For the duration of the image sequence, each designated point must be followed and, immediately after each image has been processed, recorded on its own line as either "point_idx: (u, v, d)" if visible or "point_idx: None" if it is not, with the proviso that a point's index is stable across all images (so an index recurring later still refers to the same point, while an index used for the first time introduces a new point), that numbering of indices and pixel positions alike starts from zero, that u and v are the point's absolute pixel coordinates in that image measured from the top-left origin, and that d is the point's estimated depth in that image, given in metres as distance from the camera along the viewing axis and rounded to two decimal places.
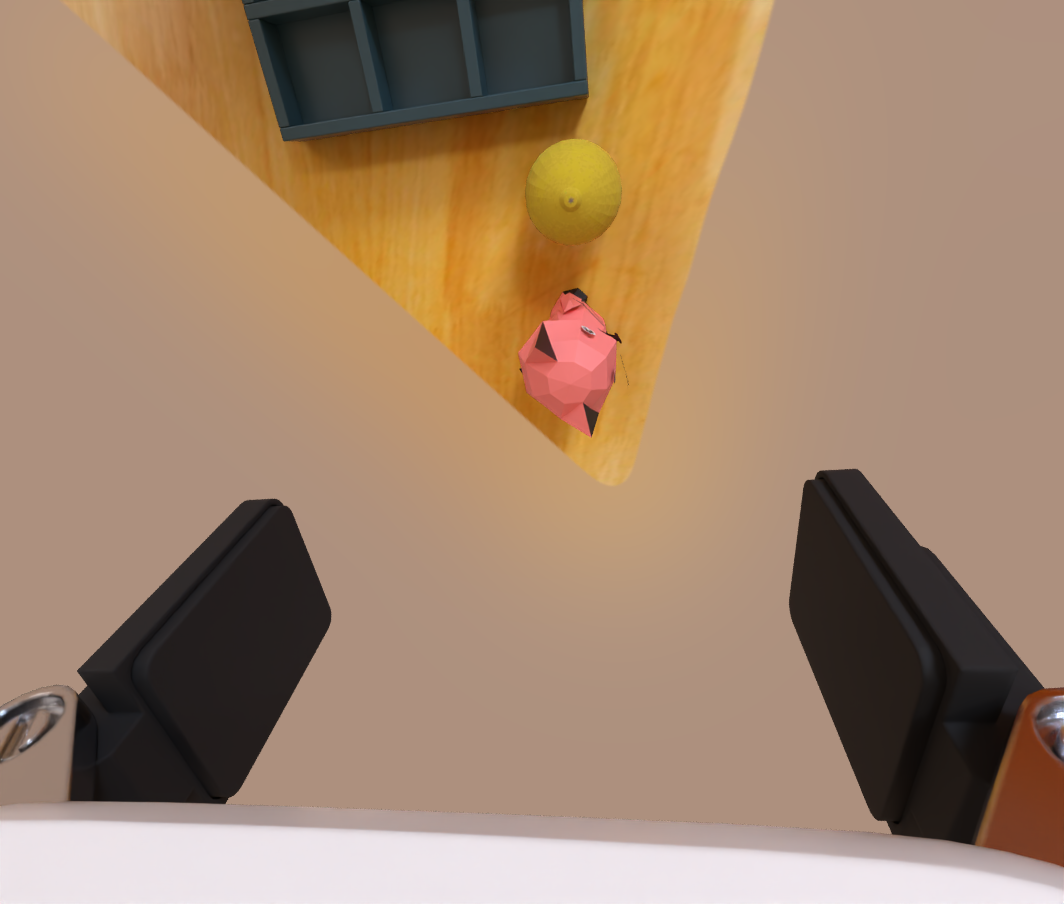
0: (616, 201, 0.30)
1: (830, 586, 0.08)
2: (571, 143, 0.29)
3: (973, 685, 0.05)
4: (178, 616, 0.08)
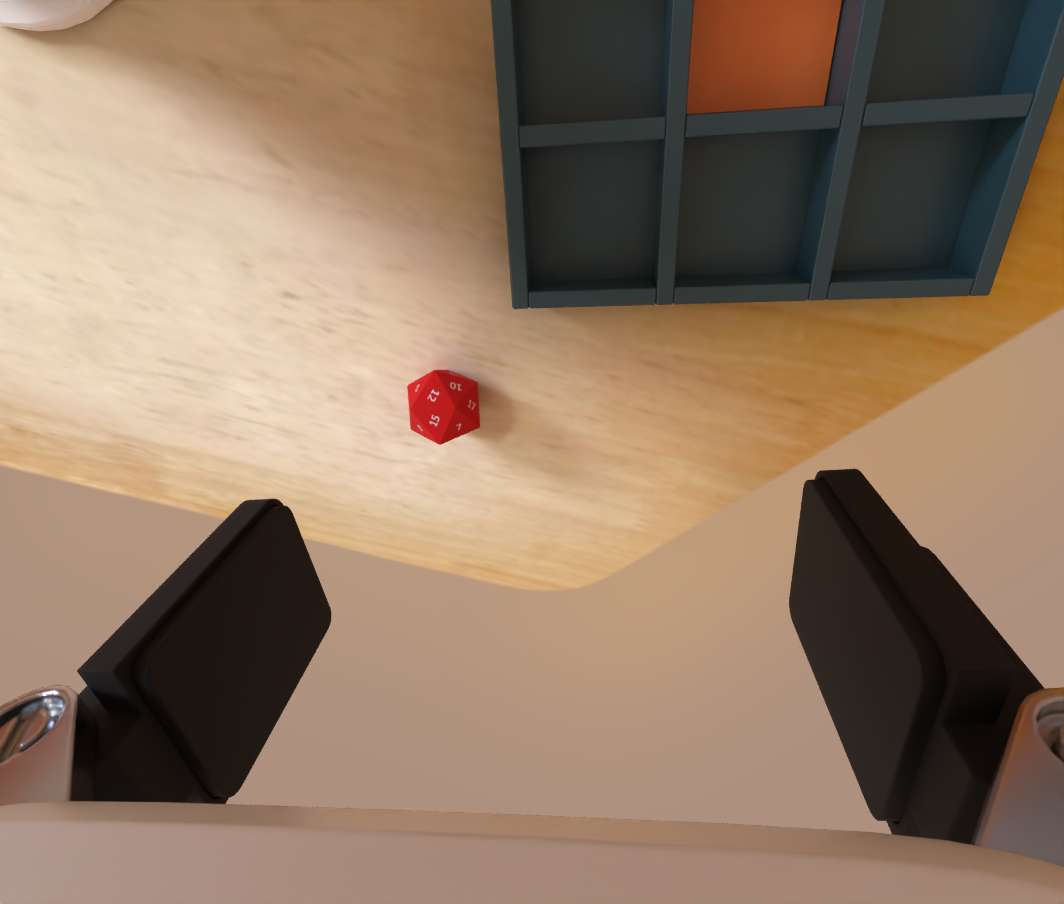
0: None
1: (830, 586, 0.08)
2: None
3: (973, 685, 0.05)
4: (178, 616, 0.08)
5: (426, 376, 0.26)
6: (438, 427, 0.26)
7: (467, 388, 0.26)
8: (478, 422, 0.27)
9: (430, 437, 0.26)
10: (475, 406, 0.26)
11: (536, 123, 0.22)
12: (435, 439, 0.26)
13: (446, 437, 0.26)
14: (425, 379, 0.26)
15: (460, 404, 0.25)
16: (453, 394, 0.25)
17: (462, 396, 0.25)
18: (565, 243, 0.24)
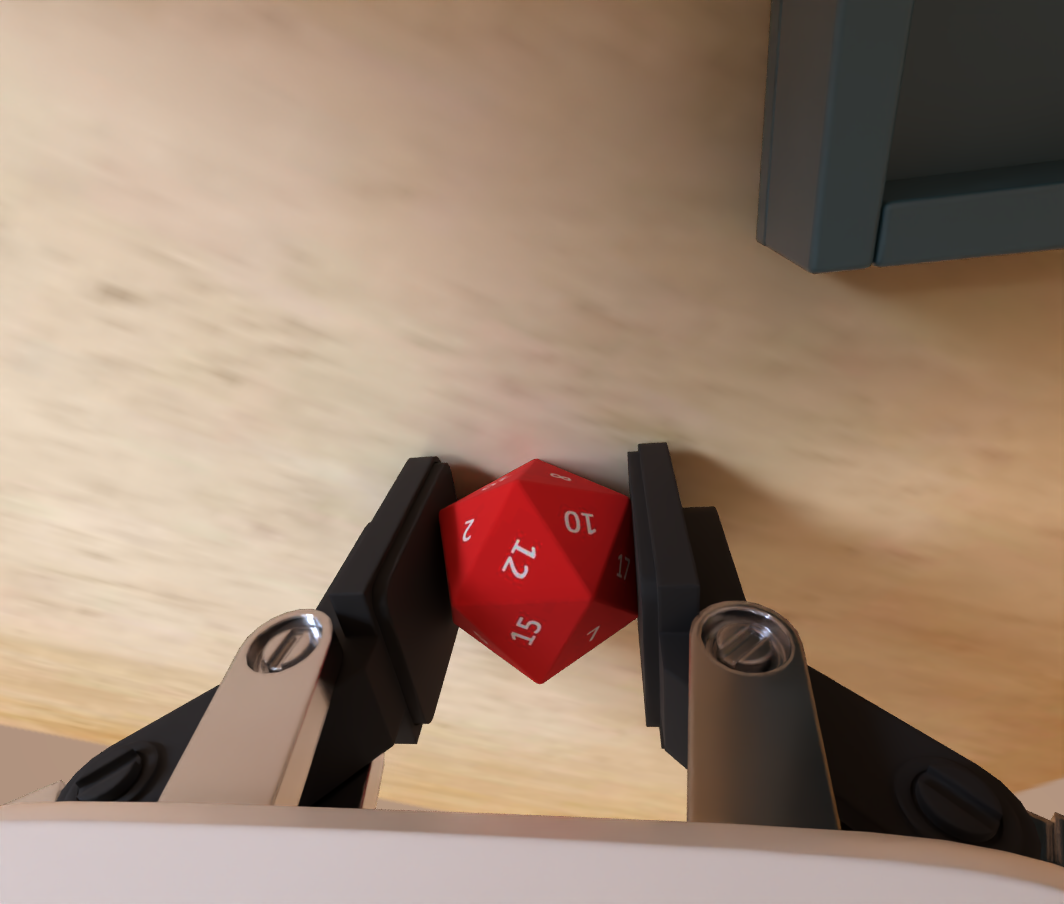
0: None
1: None
2: None
3: (671, 600, 0.07)
4: (396, 552, 0.08)
5: (492, 496, 0.09)
6: (539, 646, 0.09)
7: (610, 522, 0.09)
8: (637, 605, 0.10)
9: (512, 664, 0.09)
10: (630, 565, 0.09)
11: None
12: (527, 673, 0.09)
13: (558, 665, 0.09)
14: (490, 505, 0.09)
15: (602, 582, 0.08)
16: (578, 551, 0.08)
17: (603, 551, 0.09)
18: (965, 34, 0.07)
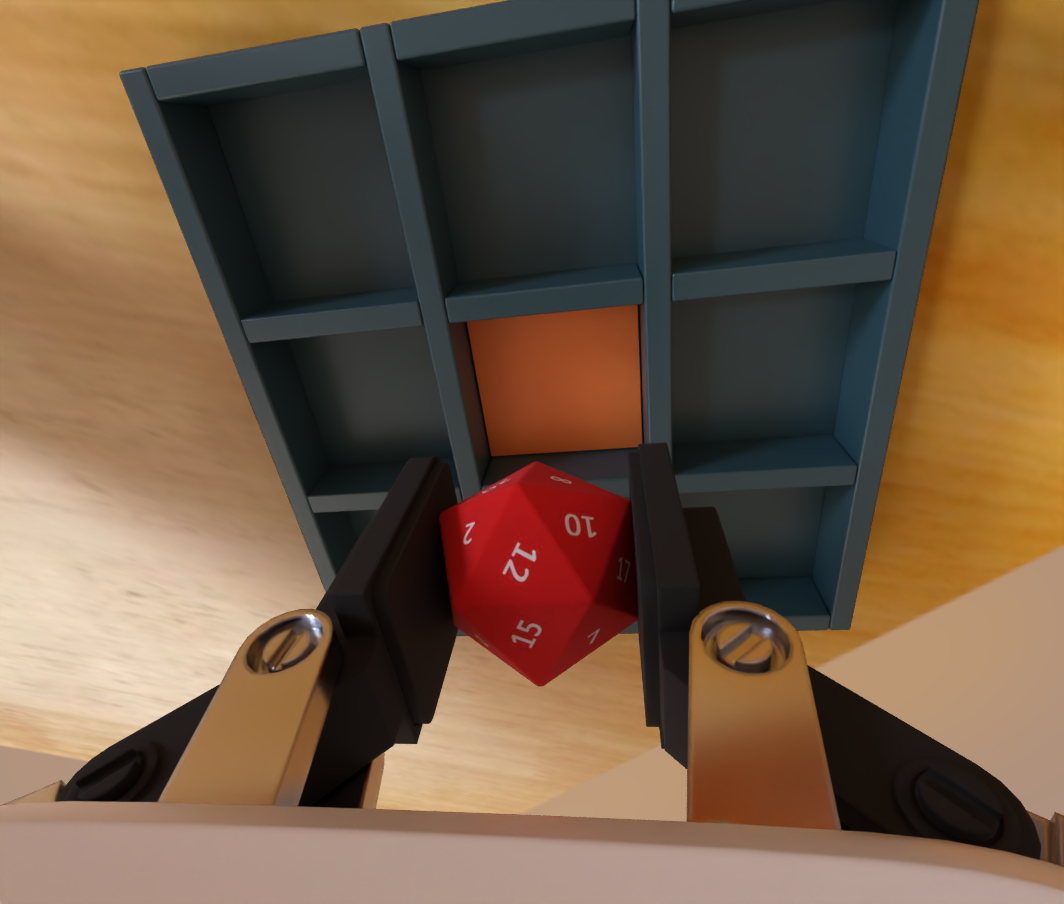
0: None
1: None
2: None
3: (671, 600, 0.07)
4: (396, 551, 0.08)
5: (492, 499, 0.09)
6: (539, 649, 0.09)
7: (610, 525, 0.09)
8: (637, 608, 0.10)
9: (512, 667, 0.09)
10: (630, 568, 0.09)
11: (342, 462, 0.20)
12: (528, 676, 0.09)
13: (559, 668, 0.09)
14: (490, 508, 0.09)
15: (602, 585, 0.08)
16: (578, 555, 0.08)
17: (603, 553, 0.09)
18: None
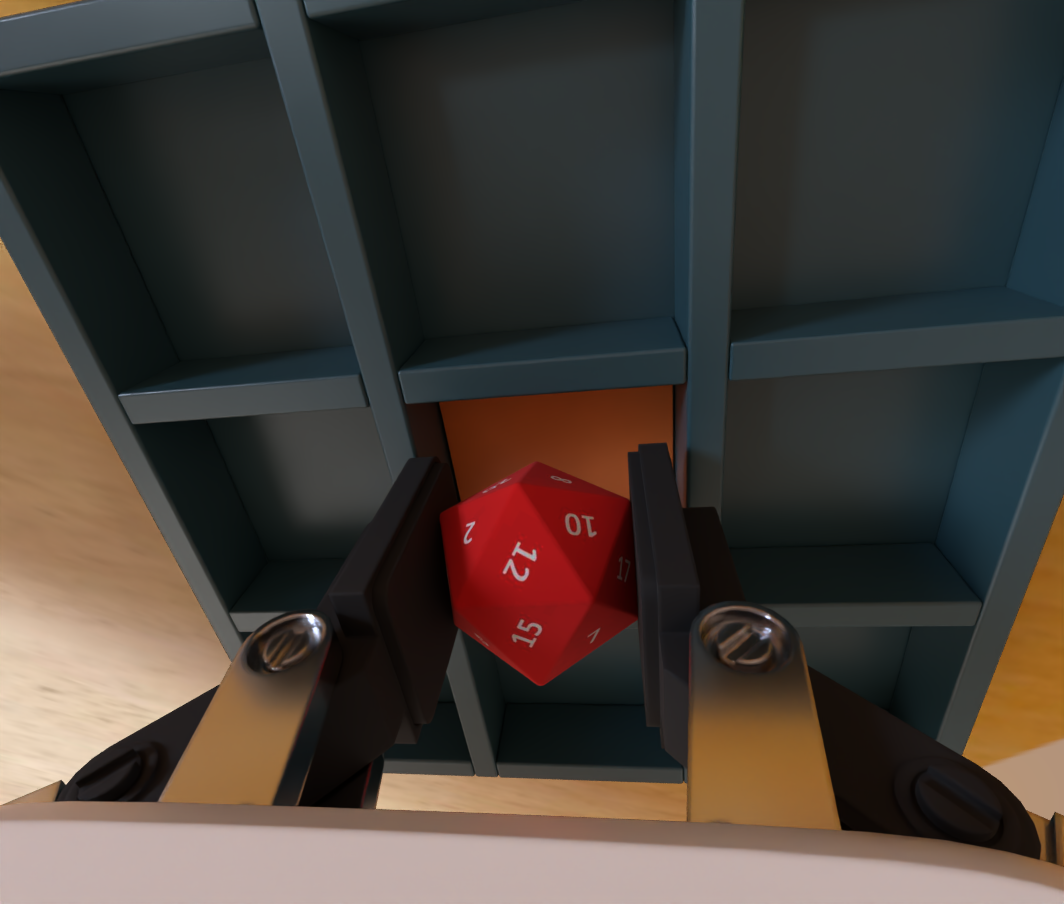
0: None
1: None
2: None
3: (671, 600, 0.07)
4: (396, 552, 0.08)
5: (493, 499, 0.09)
6: (539, 648, 0.09)
7: (611, 525, 0.09)
8: (637, 607, 0.10)
9: (514, 666, 0.09)
10: (630, 568, 0.09)
11: (283, 557, 0.15)
12: (528, 675, 0.09)
13: (559, 667, 0.09)
14: (490, 507, 0.09)
15: (602, 584, 0.08)
16: (579, 554, 0.08)
17: (604, 553, 0.09)
18: None
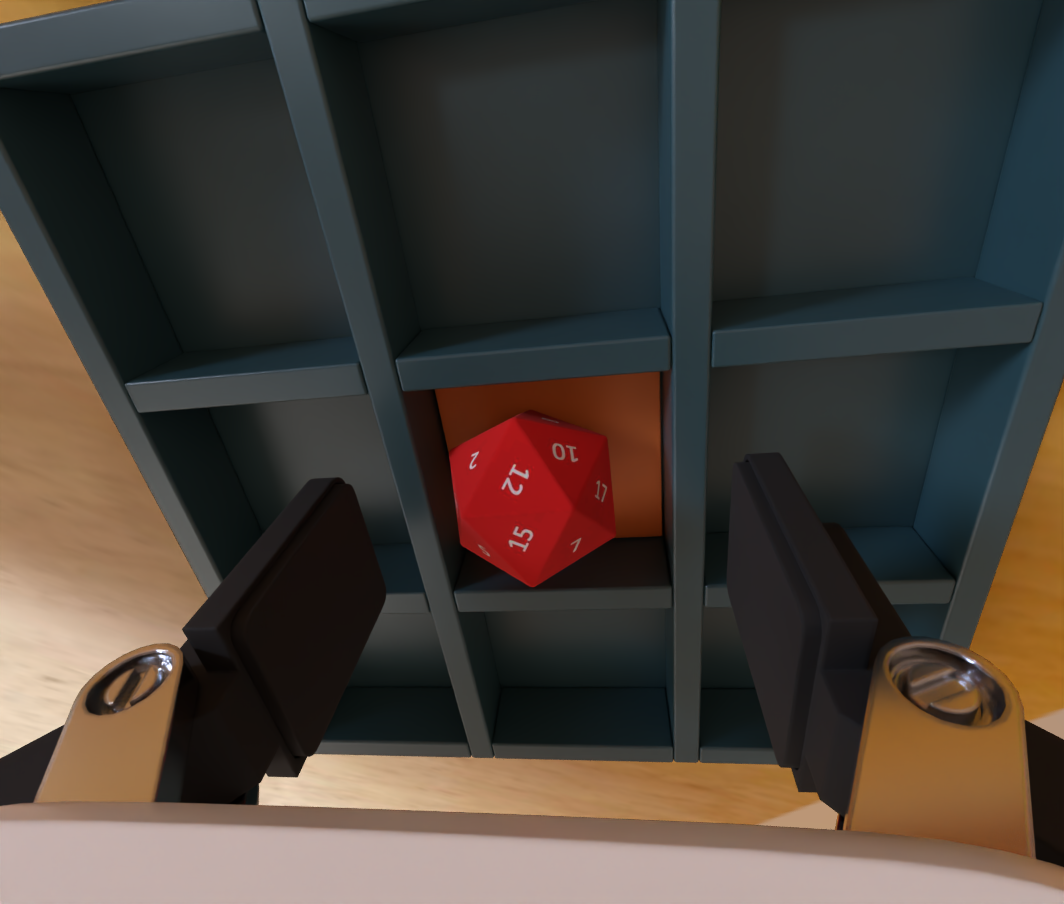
0: None
1: (749, 558, 0.09)
2: None
3: (842, 634, 0.06)
4: (267, 582, 0.08)
5: (493, 432, 0.11)
6: (531, 552, 0.11)
7: (590, 454, 0.11)
8: (613, 527, 0.12)
9: (510, 572, 0.11)
10: (607, 492, 0.11)
11: None
12: (522, 577, 0.11)
13: (547, 571, 0.11)
14: (491, 439, 0.11)
15: (582, 498, 0.10)
16: (563, 473, 0.10)
17: (584, 474, 0.11)
18: None
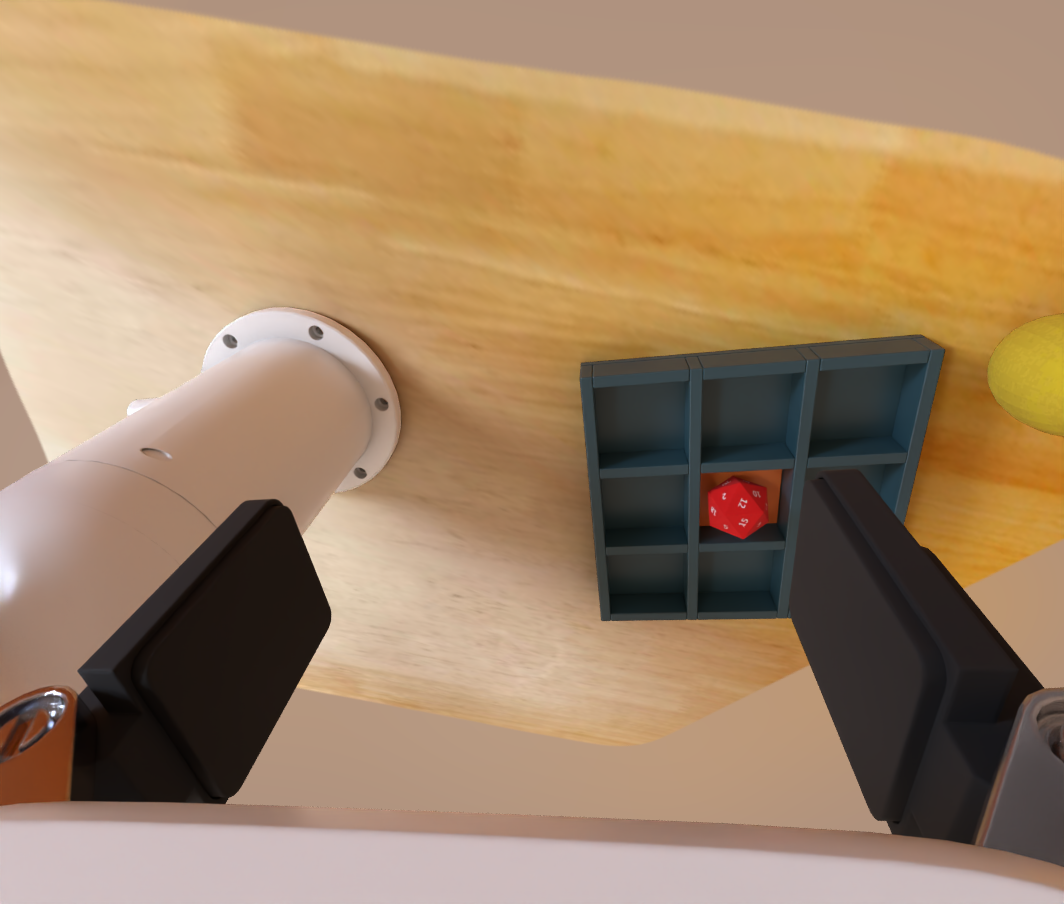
0: None
1: (830, 586, 0.08)
2: (1031, 387, 0.25)
3: (973, 685, 0.05)
4: (178, 616, 0.08)
5: (731, 486, 0.33)
6: (745, 527, 0.33)
7: (763, 494, 0.33)
8: (768, 518, 0.33)
9: (734, 534, 0.33)
10: (767, 506, 0.33)
11: (612, 527, 0.38)
12: (740, 535, 0.33)
13: (749, 533, 0.33)
14: (731, 489, 0.33)
15: (764, 509, 0.32)
16: (757, 501, 0.32)
17: (763, 501, 0.32)
18: (629, 577, 0.40)
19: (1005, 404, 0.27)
